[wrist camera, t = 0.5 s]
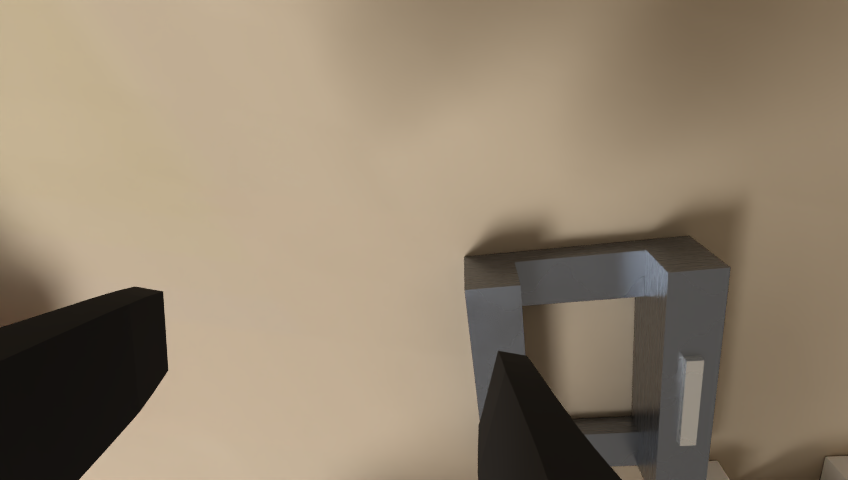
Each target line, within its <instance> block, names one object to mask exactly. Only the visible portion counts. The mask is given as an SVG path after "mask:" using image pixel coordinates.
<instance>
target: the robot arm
mask: <svg viewBox="0 0 848 480" xmlns="http://www.w3.org/2000/svg"><path fill="white" fill-rule="evenodd" d="M167 371H168V359H167V344H166V329H165V314H164V299H163V291H157V290H151V289H146V288H140V287H132V288H127V289H123V290H119V291H115V292H112V293H108V294H105V295H101V296H98V297H95V298H92V299H88V300H85V301H82V302H79V303H76V304H73V305H70V306H67V307H64V308H60V309H57V310H54V311H51V312H48V313H45V314H42V315H39V316H36V317H32V318H29V319H26V320H23V321H20V322H17V323H14V324H11V325H7V326H4V327H1V328H0V480H79V479H80V478H81V477H82V476H83V475H84V473H85V472H86V471H87V470H88V469H89V468H90V467H91V466H92V465H93V464H94V462H95V461H96V460H97V459H98V458H99V457H100V456H101V455H102V454H103V453H104V451H105V450H106V449H107V448H108V447H109V446H110V445H111V444H112V443H113V441H114V440H115V439H116V438H117V437H118V436H119V435H120V434H121V432H122V431H123V430H124V429H125V428H126V427H127V426H128V425H129V423H130V422H131V421H132V420H133V419H134V418H135V417H136V415H137V414H138V413H139V412H140V411H141V409H142V408H143V406H144V405H145V404H146V402H147V401H148V399H149V398H150V397H151V395H152V394H153V392H154V391H155V389H156V388H157V386H158V385H159V383H160V382H161V380H162V379H163V377H164V376H165V374H166V373H167ZM478 480H622V479H621V478H620V477H619V476H618V475H617V474H616V473H615V471H614V470H613V469H612V468H611V467H610V465H609V464H608V463H607V462H606V461H605V460H604V458H603V457H602V456H601V455H600V454H599V452H598V451H597V450H596V449H595V448H594V446H593V445H592V444H591V443H590V441H589V440H588V439H587V438H586V436H585V435H584V434H583V433H582V431H581V430H580V429H579V428H578V426H577V425H576V424H575V422H574V421H573V420H572V418H571V417H570V416H569V414H568V413H567V412H566V410H565V409H564V408H563V406H562V405H561V403H560V402H559V401H558V399H557V398H556V396H555V395H554V394H553V392H552V391H551V389H550V388H549V387H548V385H547V384H546V382H545V381H544V379H543V378H542V377H541V375H540V374H539V372H538V371H537V369H536V368H535V366H534V365H533V364H532V362H531V361H530V359H529V358H528V357H527V356H526V355H520V354H514V353H509V352H503V351H498V353H497V357H496V361H495V364H494V368H493V372H492V376H491V380H490V384H489V388H488V392H487V396H486V399H485V403H484V407H483V411H482V415H481V419H480V423H479V435H478Z"/></svg>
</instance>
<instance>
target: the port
mask: <svg viewBox="0 0 848 480" xmlns="http://www.w3.org/2000/svg"><path fill="white" fill-rule="evenodd" d="M730 268H731V267H729V266H728V265H727V264H725V263H724V262H723V261H721V260H720V259H719V258H718V257H716V256H715V255H714V254H712V253H711V252H710V251H709V250H707V249H706V248H705V247H703V246H702V245H701V244H699V243H698V242H697V241H696V240H694V239H693V238H692V237H690V236H682V237H671V238H660V239H650V240H639V241H628V242H618V243H607V244H596V245H586V246H575V247H564V248H554V249H543V250H532V251H521V252H511V253H500V254H489V255H479V256H468V257H464V281H465V298H466V306H467V315H468V323H469V332H470V341H471V349H472V358H473V366H474V375H475V383H476V392H477V401H478V409H479V418H480V419H481V415H482V411H483V407H484V403H485V399H486V396H487V392H488V388H489V384H490V380H491V376H492V372H493V368H494V364H495V361H496V357H497V353H498V351H503V352H509V353H514V354H520V355H525V343H524V328H523V313H522V306H527V305H540V304H552V303H565V302H578V301H590V300H603V299H615V298H628V297H635V320H634V351H633V381H632V412H631V416H627V417H607V418H587V419H572V420H573V421H574V422H575V424H576V425H577V426H578V428H579V429H580V430H581V431H582V433H583V434H584V435H585V436H586V438H587V439H588V440H589V441H590V443H591V444H592V445H593V446H594V448H595V449H596V450H597V451H598V452H599V454H600V455H601V456H602V457H603V458H604V460H605V461H606V462H607V463H608V464H609V465H610V466H634V465H638V467H639V470H640V472H641V474H642V477H643V479H644V480H706V479H707V470H708V461H709V452H710V444H711V435H712V426H713V417H714V408H715V400H716V391H717V382H718V373H719V364H720V356H721V347H722V338H723V329H724V320H725V312H726V303H727V294H728V285H729V277H730Z"/></svg>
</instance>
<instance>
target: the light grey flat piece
mask: <svg viewBox="0 0 848 480" xmlns="http://www.w3.org/2000/svg"><path fill="white" fill-rule="evenodd" d="M706 480H730V479H729V478H728V476H727V475H726V473H725V471H724V470H723V468H722V467H721V465H720V464H719V462H718V461H708V470H707V479H706ZM820 480H848V456H829V457H825V461H824V466H823V470H822V474H821V479H820Z"/></svg>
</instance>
